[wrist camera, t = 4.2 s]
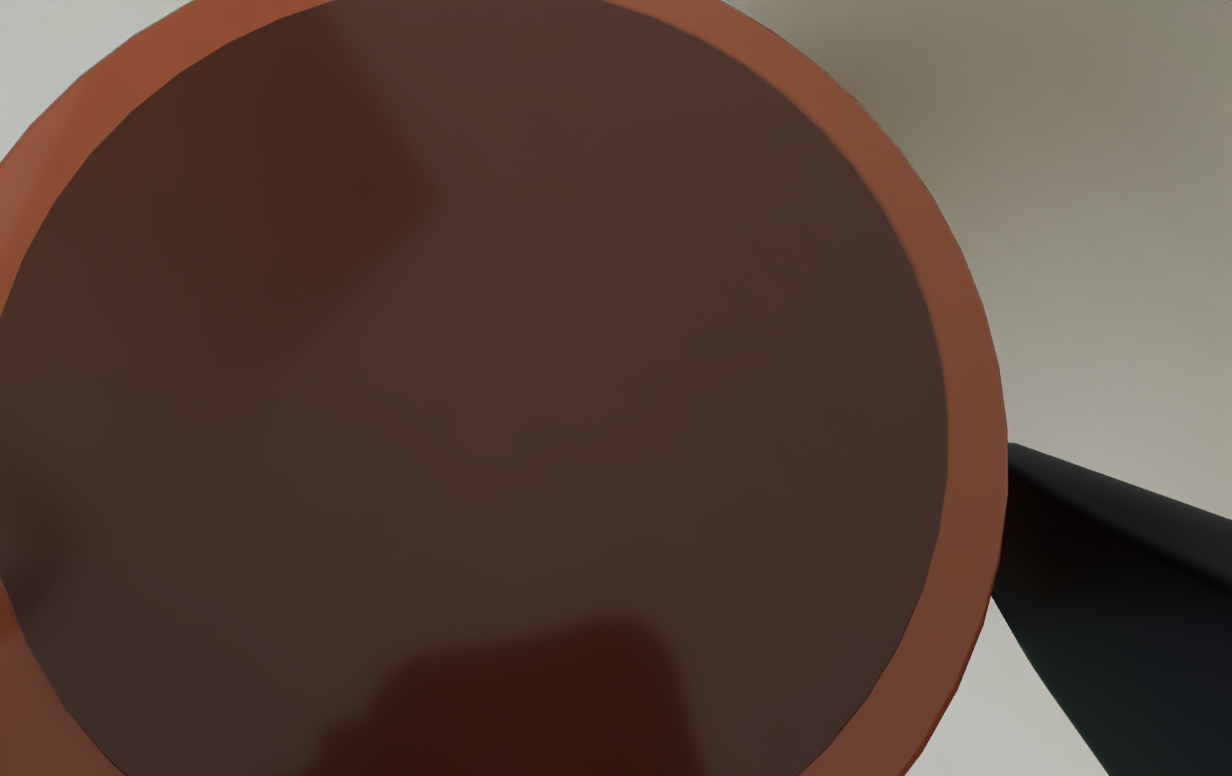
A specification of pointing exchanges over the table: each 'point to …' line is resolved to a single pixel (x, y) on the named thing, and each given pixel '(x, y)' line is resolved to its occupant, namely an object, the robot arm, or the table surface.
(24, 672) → the tumbler
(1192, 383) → the table surface
